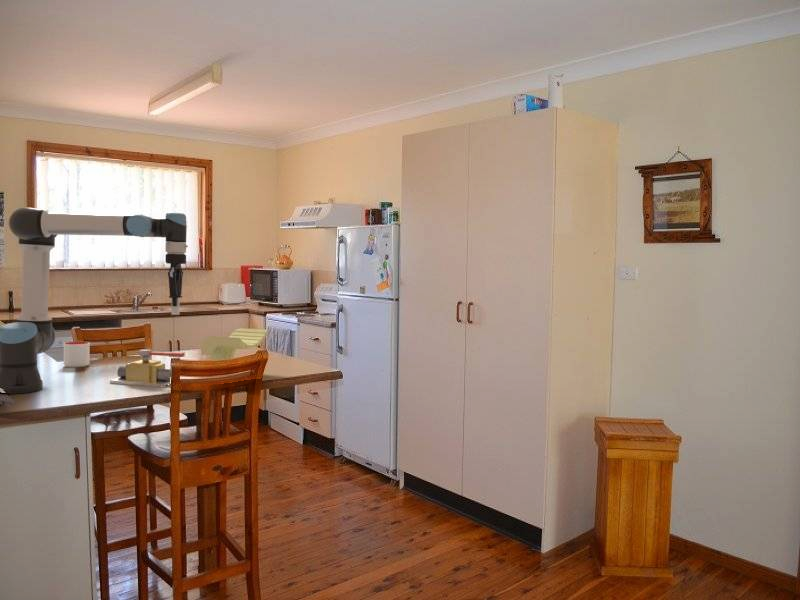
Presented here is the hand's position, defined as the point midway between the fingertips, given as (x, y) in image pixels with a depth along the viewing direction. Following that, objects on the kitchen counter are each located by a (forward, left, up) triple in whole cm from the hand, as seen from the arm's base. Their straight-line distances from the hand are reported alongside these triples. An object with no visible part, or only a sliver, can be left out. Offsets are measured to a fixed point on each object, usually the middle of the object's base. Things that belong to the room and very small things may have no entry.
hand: (175, 314), depth 242 cm
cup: (+17, +56, -27) cm, 64 cm away
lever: (-4, +4, -16) cm, 17 cm away
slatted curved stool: (+22, -15, -27) cm, 38 cm away
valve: (-4, +10, -26) cm, 29 cm away
